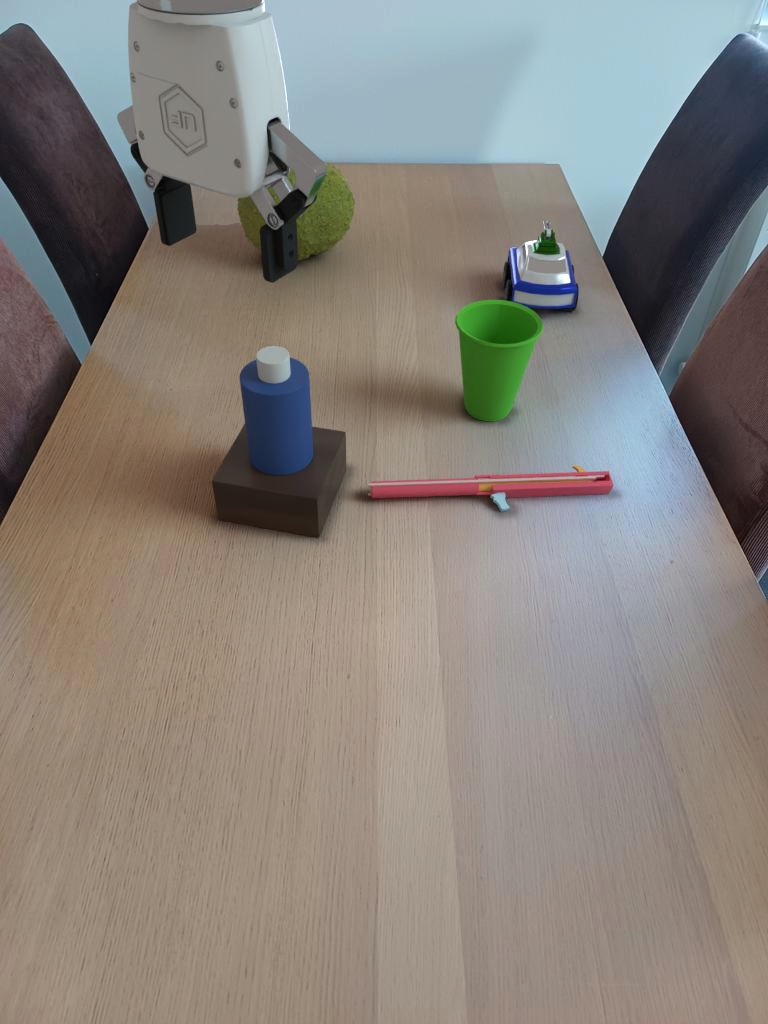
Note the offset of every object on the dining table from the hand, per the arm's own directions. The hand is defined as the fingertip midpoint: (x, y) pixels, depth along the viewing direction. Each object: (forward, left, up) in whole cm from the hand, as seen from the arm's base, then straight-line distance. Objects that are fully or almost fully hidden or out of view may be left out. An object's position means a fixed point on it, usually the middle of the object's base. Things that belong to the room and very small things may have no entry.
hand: (228, 256), depth 59 cm
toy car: (+53, -4, -26) cm, 60 cm away
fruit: (+45, +30, -26) cm, 60 cm away
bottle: (+3, 0, -21) cm, 21 cm away
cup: (+27, -10, -26) cm, 39 cm away
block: (+3, 0, -26) cm, 26 cm away
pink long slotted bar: (+14, -17, -26) cm, 35 cm away
